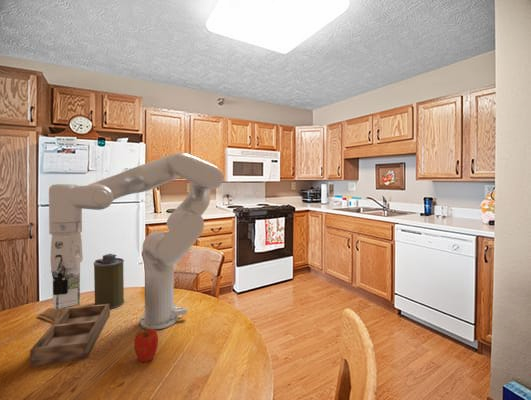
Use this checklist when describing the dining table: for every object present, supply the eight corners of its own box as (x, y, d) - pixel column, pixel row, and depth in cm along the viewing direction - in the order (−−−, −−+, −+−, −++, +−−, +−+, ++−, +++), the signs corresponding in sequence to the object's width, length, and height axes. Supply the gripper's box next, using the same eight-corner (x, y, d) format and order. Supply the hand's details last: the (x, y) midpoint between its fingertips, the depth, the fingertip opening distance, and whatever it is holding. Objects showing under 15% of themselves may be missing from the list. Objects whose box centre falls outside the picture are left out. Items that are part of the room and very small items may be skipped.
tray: (109, 315, 99) (109, 303, 99) (87, 358, 75) (87, 342, 75) (68, 320, 95) (67, 307, 95) (30, 366, 71) (30, 350, 71)
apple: (140, 351, 79) (140, 326, 78) (161, 351, 79) (161, 326, 78) (129, 365, 73) (129, 338, 72) (152, 366, 72) (152, 339, 72)
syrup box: (76, 298, 83) (76, 251, 82) (80, 305, 78) (80, 255, 78) (52, 304, 79) (52, 254, 78) (55, 311, 74) (55, 258, 74)
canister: (130, 300, 112) (129, 252, 111) (110, 311, 102) (109, 259, 101) (108, 297, 115) (107, 250, 113) (86, 308, 104) (85, 257, 103)
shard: (55, 325, 93) (54, 319, 93) (27, 328, 91) (27, 322, 91) (67, 310, 103) (67, 306, 103) (43, 313, 101) (43, 308, 101)
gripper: (69, 232, 70) (70, 299, 71) (90, 223, 87) (90, 277, 88) (34, 233, 68) (35, 302, 69) (63, 223, 84) (63, 279, 85)
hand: (66, 288), depth 78 cm, fingers closed on syrup box, 7 cm apart
